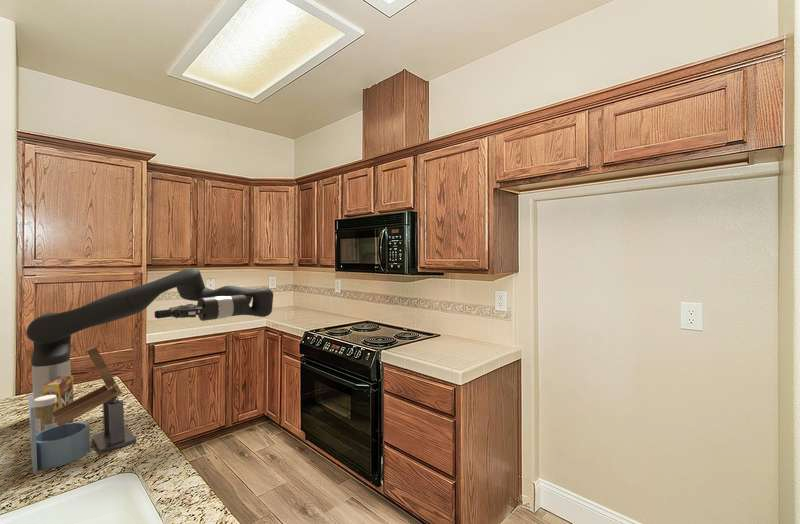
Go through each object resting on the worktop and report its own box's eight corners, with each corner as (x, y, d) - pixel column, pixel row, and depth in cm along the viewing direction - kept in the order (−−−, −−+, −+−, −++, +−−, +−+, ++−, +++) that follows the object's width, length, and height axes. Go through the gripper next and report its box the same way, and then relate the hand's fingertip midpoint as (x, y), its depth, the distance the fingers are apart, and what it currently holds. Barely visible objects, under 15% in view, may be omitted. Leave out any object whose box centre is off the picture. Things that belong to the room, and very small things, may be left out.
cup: (31, 457, 97) (28, 396, 96) (86, 441, 105) (83, 384, 105) (33, 474, 89) (30, 408, 89) (92, 455, 97) (90, 394, 97)
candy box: (61, 435, 108) (58, 383, 108) (42, 438, 107) (39, 385, 107) (75, 422, 117) (73, 374, 116) (58, 425, 115) (56, 376, 115)
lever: (59, 423, 99) (27, 373, 95) (119, 391, 109) (93, 344, 104) (61, 431, 95) (28, 379, 90) (124, 397, 104) (97, 348, 100)
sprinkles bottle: (56, 446, 102) (54, 397, 102) (33, 451, 100) (31, 401, 100) (60, 439, 106) (58, 392, 106) (38, 444, 104) (36, 396, 103)
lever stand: (92, 438, 106) (90, 393, 106) (126, 428, 112) (125, 385, 112) (99, 454, 98) (97, 404, 98) (136, 442, 104) (134, 395, 104)
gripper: (207, 295, 129) (148, 300, 117) (223, 298, 120) (161, 304, 108) (208, 316, 129) (149, 324, 117) (224, 321, 120) (162, 330, 108)
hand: (155, 314), depth 112 cm, fingers closed
